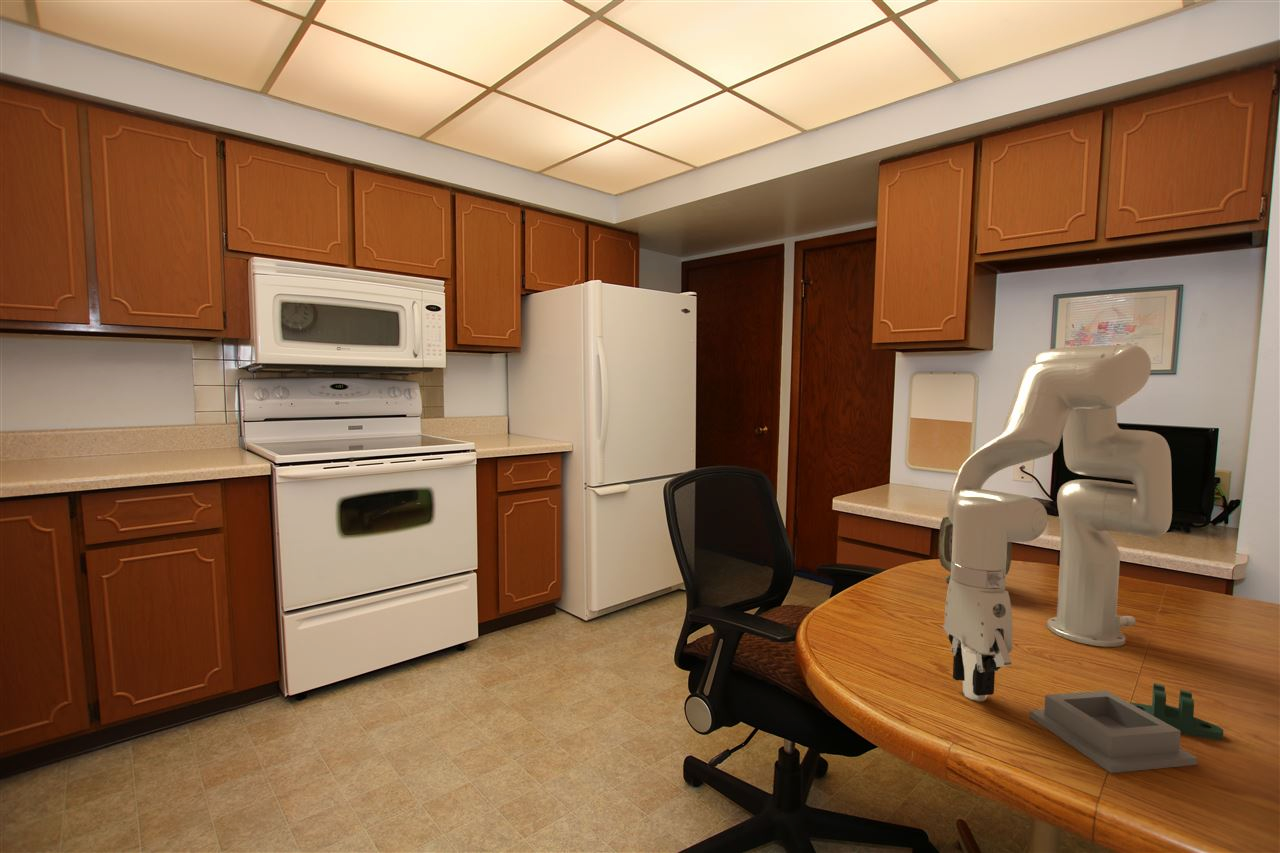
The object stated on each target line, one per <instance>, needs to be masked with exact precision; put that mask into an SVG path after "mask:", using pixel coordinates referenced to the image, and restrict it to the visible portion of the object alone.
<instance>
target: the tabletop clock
mask: <svg viewBox="0 0 1280 853" xmlns="http://www.w3.org/2000/svg"><path fill="white" fill-rule="evenodd" d="M938 535H939V536H938V556H939V562H940V565H941V567H943V568H944V569H945V570H947V571H948V572H950V573H951V561H952V538H953V524H952V523H951V521H950V520H949V517H948V516H945V517H943V518H942V519H941V522H940V525H939V534H938ZM1012 543H1013V542H1007V557H1006V576H1007V575H1008V573H1009V571H1010V568H1011V563H1012V562H1011V561H1012V548H1013V547H1012V546H1013V545H1012ZM950 577H951V574H950V575H946V576H945V579H944V580H945V581H946V582H947V583H949V581H950Z"/></svg>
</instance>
